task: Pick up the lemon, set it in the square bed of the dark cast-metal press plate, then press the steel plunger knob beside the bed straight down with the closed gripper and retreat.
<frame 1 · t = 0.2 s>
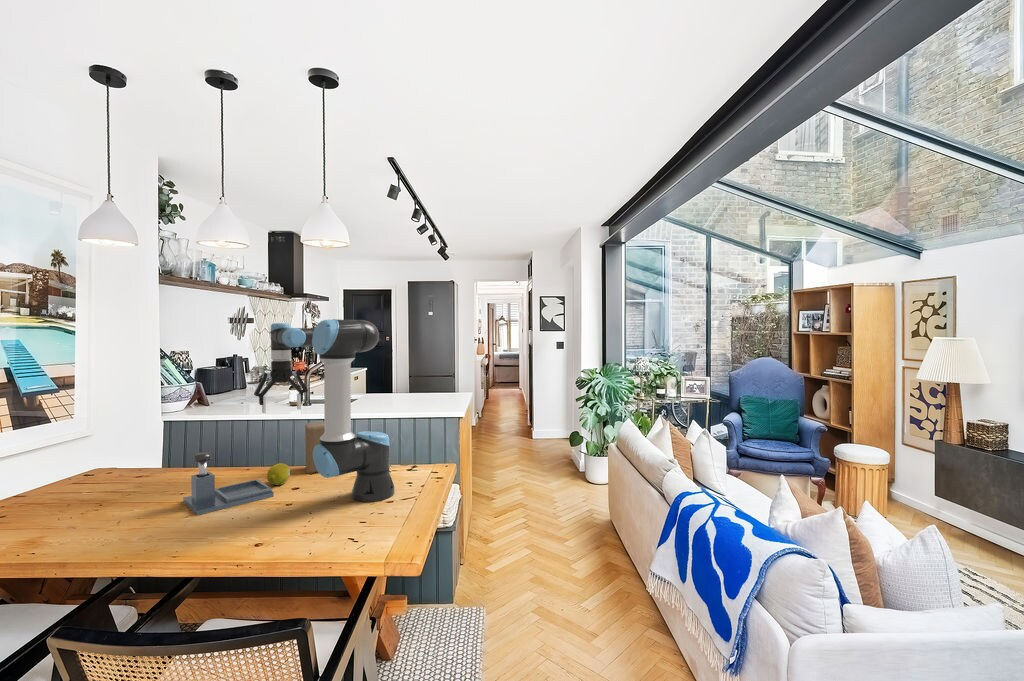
hand: (281, 410, 198), 27 cm above the table, fingers open, 13 cm apart
lemon: (279, 484, 187), on the table
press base: (229, 499, 171), on the table
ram: (202, 468, 165), point 13 cm above the table, slide at 0.0 cm
wooden block: (318, 469, 206), on the table
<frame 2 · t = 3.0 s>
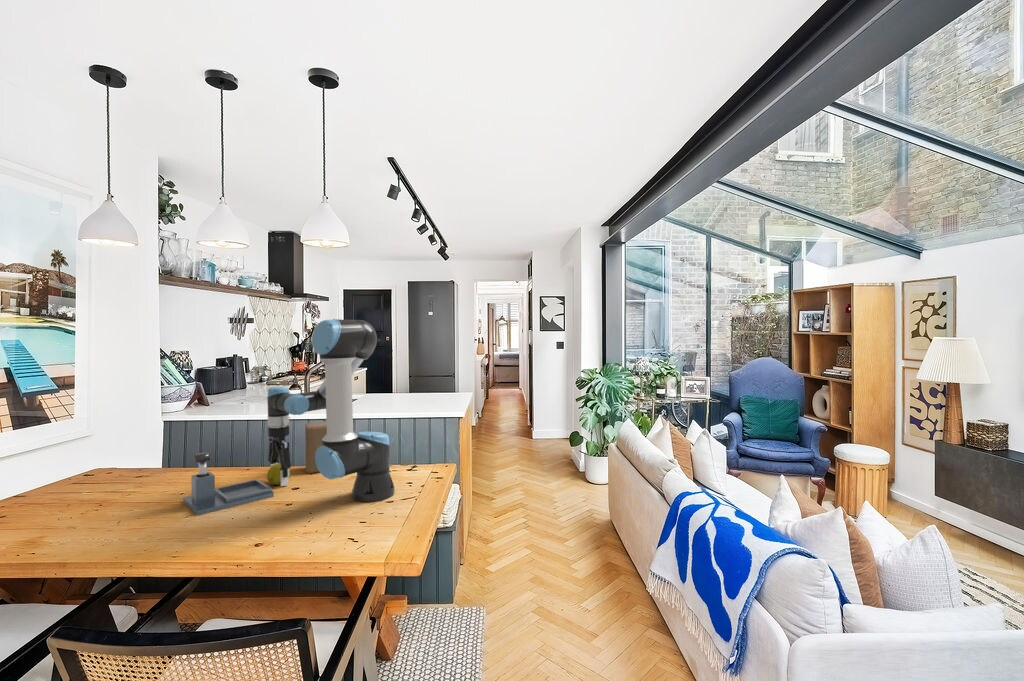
hand: (279, 482, 187), 0 cm above the table, fingers closed on lemon, 9 cm apart
lemon: (279, 484, 187), on the table, touching gripper
everything else where it was.
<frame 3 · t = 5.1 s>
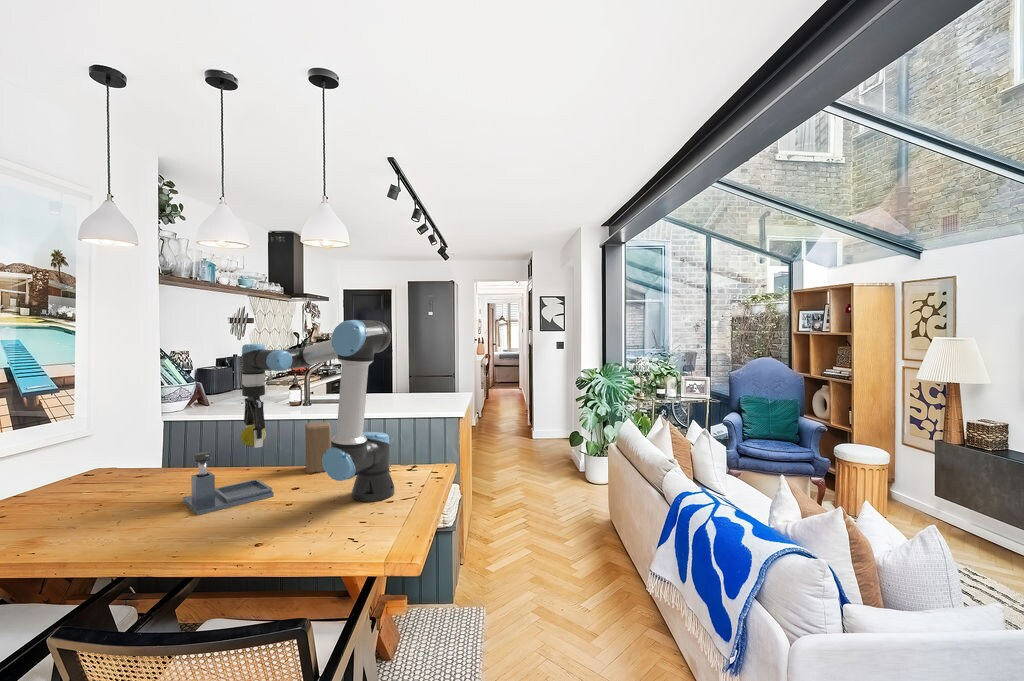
hand: (254, 444, 178), 18 cm above the table, fingers closed on lemon, 9 cm apart
lemon: (254, 446, 178), point 17 cm above the table, touching gripper
everything else where it was.
when the fingers open (3 cm above the table, at t = 7.5 s): lemon drops 1 cm, resting on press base.
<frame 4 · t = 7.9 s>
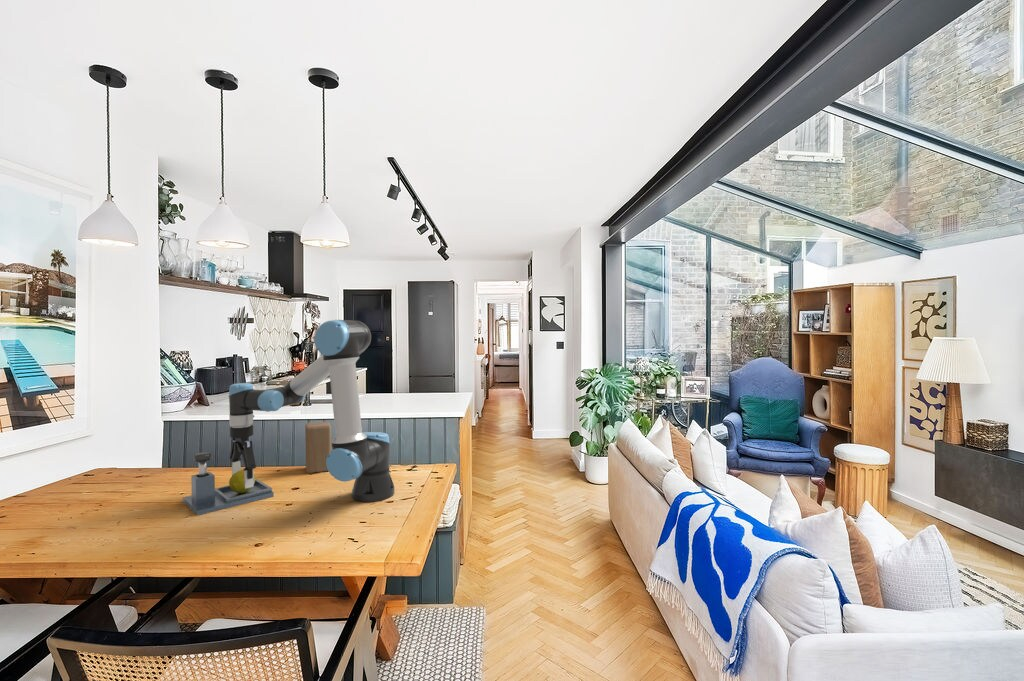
hand: (242, 483, 174), 5 cm above the table, fingers open, 13 cm apart
lemon: (243, 492, 174), point 1 cm above the table, touching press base
everything else where it was.
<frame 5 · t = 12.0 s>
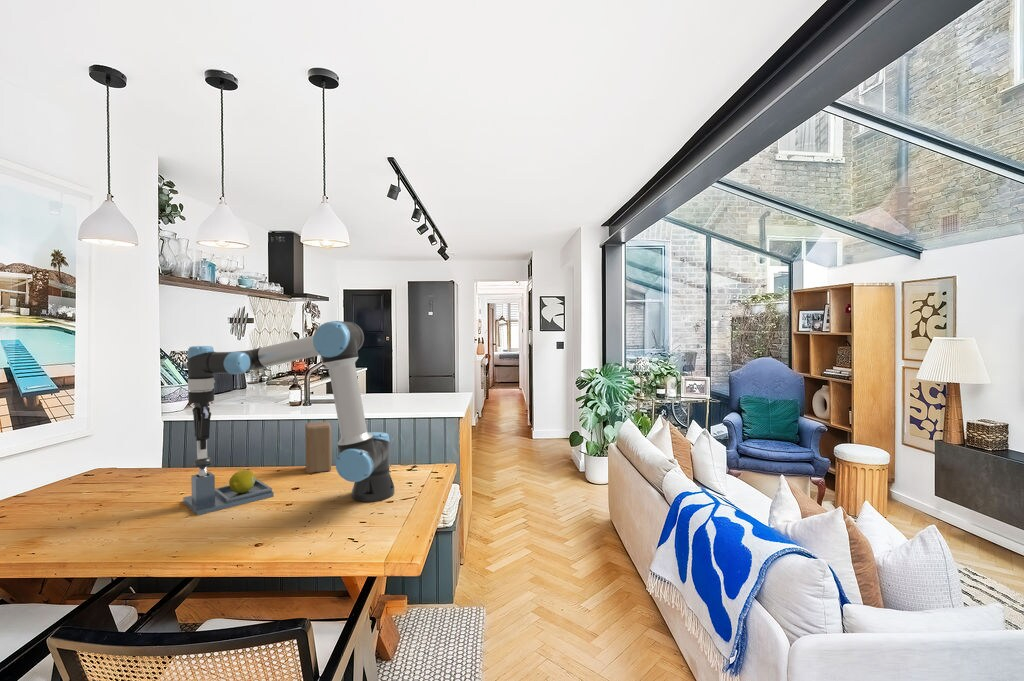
hand: (202, 458, 165), 17 cm above the table, fingers closed
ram: (202, 473, 165), point 11 cm above the table, slide at 1.7 cm, touching gripper
everything else where it was.
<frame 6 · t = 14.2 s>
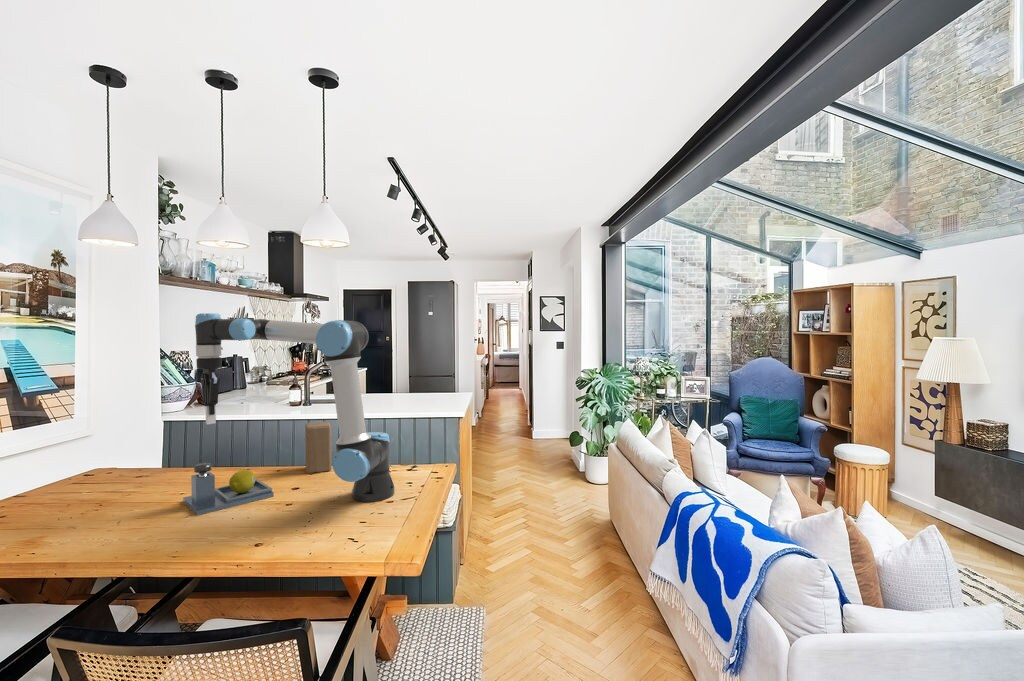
hand: (210, 423, 168), 28 cm above the table, fingers closed
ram: (203, 479, 165), point 9 cm above the table, slide at 3.8 cm
everything else where it was.
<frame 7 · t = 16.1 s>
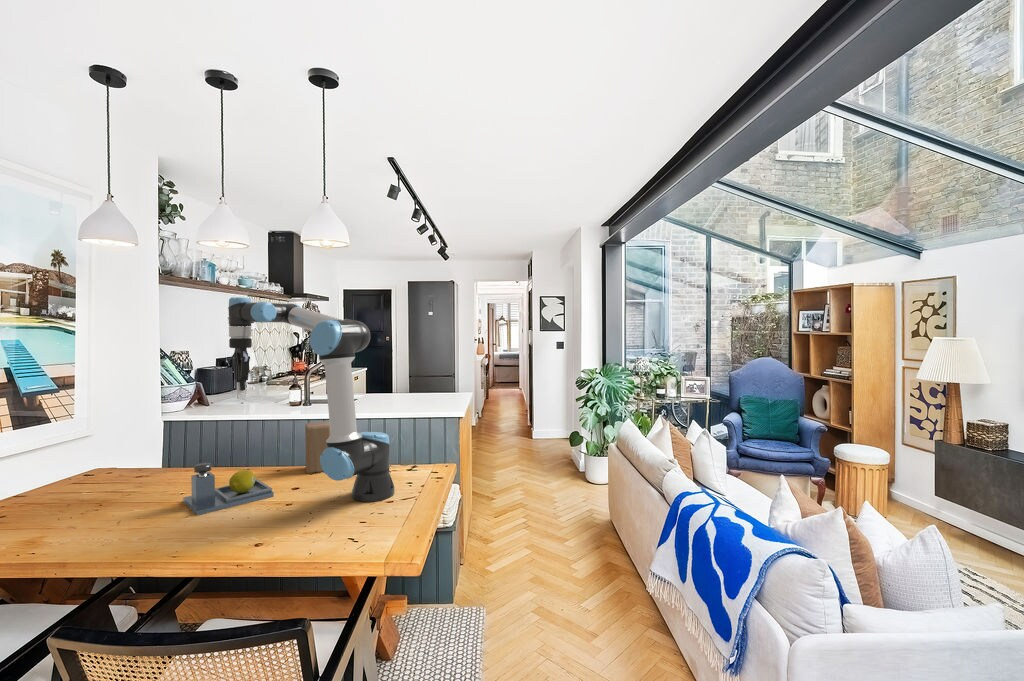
hand: (241, 398, 183), 34 cm above the table, fingers closed
nothing on the table moved.
at the end: lemon inside the target area on the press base (0.3 cm from its centre), point 1.3 cm above the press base's base; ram slide at 3.8 cm; the gripper is holding nothing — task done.
